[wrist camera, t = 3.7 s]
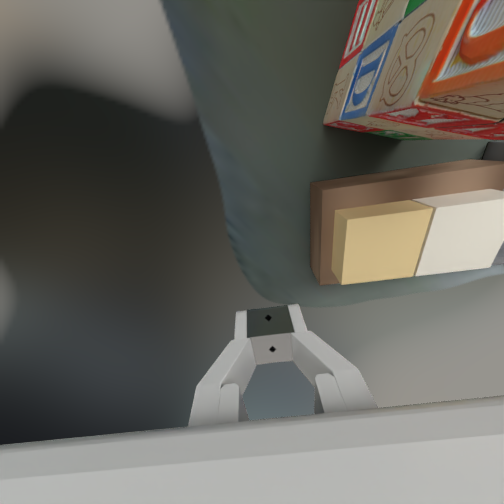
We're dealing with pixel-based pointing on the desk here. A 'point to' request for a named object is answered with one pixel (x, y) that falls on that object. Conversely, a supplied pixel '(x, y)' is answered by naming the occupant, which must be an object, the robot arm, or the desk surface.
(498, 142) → the tray
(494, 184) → the walnut ledge
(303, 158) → the desk surface
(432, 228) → the cream tile
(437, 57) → the stack of blocks
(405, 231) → the ochre tile
